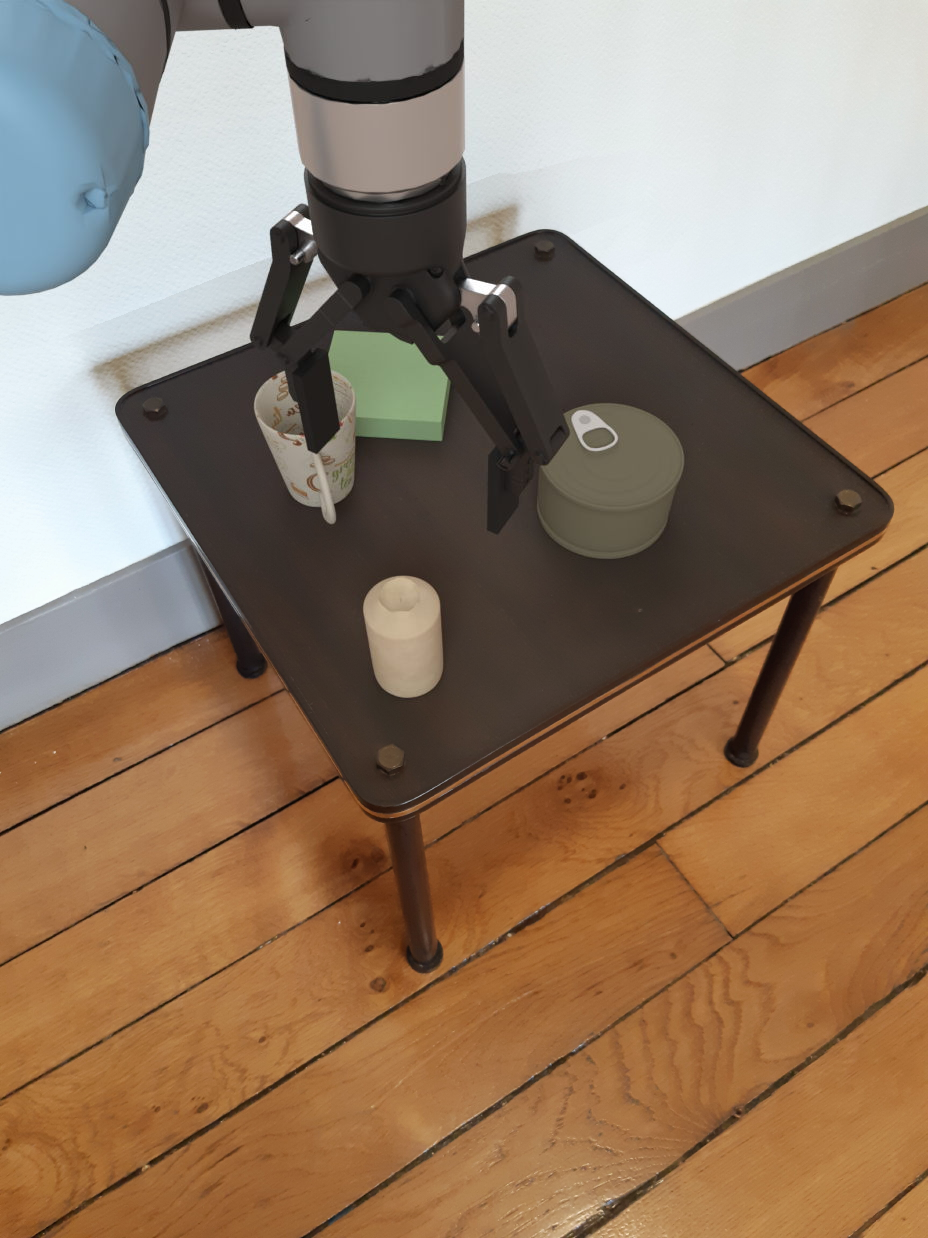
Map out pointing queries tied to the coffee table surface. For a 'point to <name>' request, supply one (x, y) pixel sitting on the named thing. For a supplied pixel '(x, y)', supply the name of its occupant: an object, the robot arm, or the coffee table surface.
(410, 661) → the candle
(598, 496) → the can
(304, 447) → the mug
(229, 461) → the coffee table surface
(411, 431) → the foam pad
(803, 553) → the coffee table surface
